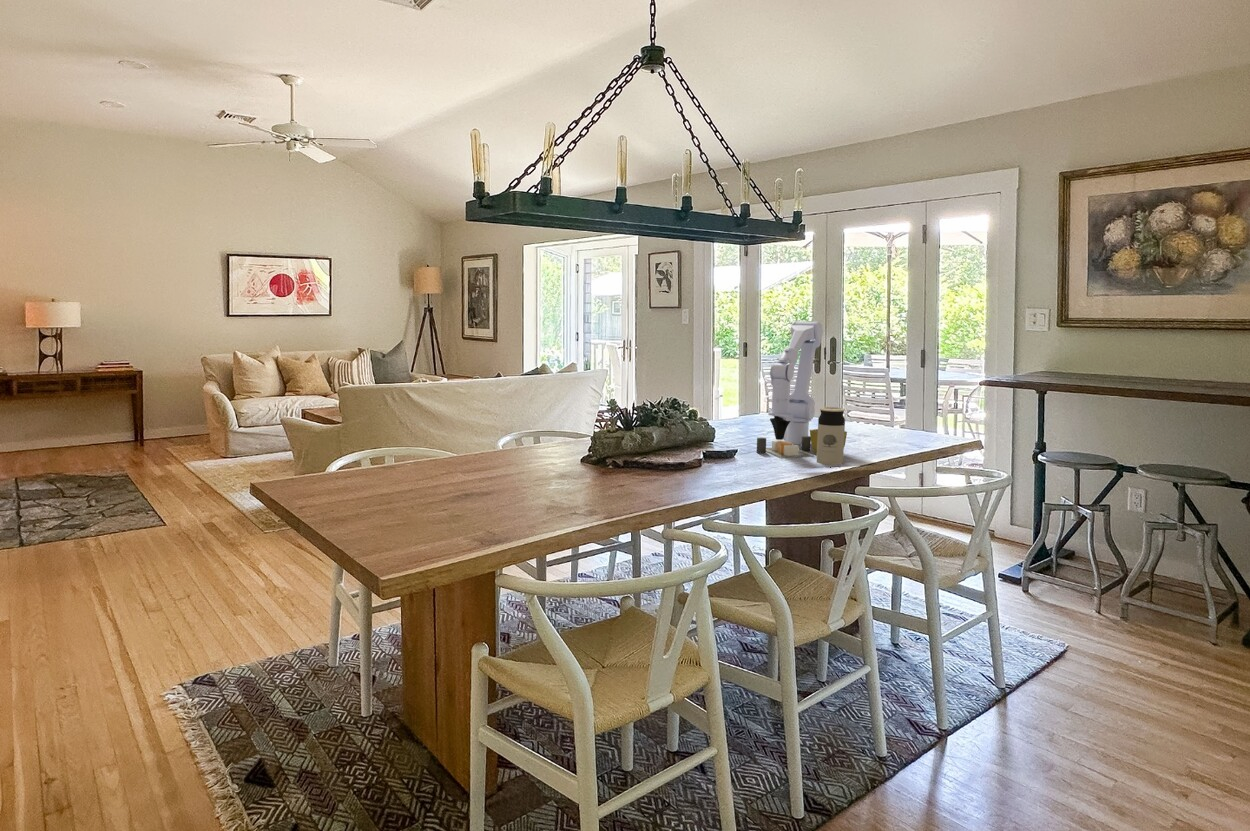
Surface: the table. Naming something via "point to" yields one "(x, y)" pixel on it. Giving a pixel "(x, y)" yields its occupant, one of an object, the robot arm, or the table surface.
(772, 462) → the table surface
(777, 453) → the panel
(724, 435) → the table surface
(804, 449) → the cylinder
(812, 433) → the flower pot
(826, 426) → the travel mug
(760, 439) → the cord post
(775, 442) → the block
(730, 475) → the table surface
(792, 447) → the block
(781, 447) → the block
